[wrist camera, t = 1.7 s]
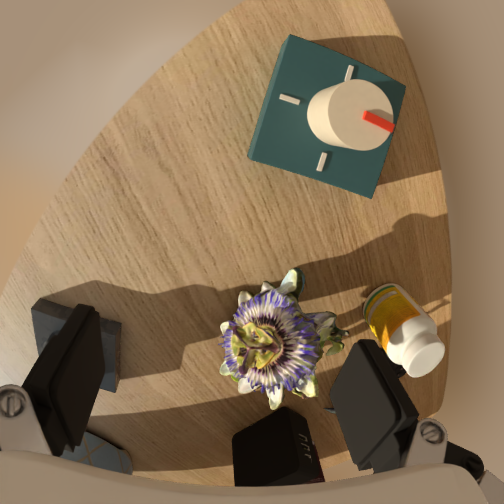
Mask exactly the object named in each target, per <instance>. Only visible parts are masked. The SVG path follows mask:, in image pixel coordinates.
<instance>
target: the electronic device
mask: <svg viewBox="0 0 504 504" xmlns="http://www.w3.org/2000/svg"><path fill="white" fill-rule="evenodd" d="M232 450H233V467H234V482H235V487H269V486H289V485H301V484H304V483H306V482H308V481H310V480H313V479H315V478H316V477H317V476H318V475H319V473H320V469H319V465H318V461H317V458H316V454H315V450H314V446H313V443H312V439H311V435H310V431H309V428H308V424H307V420H306V419H305V417H303V416H301V415H299V414H297V413H295V412H294V411H292V410H290V409H288V408H286V407H282V408H280V409H278V410H277V411H275V412H273V413H272V414H270V415H268V416H267V417H265V418H263V419H262V420H260V421H258V422H256V423H255V424H253V425H251V426H249V427H247V428H246V429H244V430H242V431H240V432H238V433H236V434H235V435H234V436H233V438H232Z"/></svg>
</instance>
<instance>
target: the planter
mask: <svg viewBox="0 0 504 504" xmlns="http://www.w3.org/2000/svg"><path fill="white" fill-rule="evenodd" d="M60 457H61V458H64V459H67V460H71V461H75V462H79V463H82V464H86V465H90V466H93V467H97V468H101V469H105V470H110V471H114V472H119V473H123V474H128V475H132V470H133V469H132V461H131V458H130V456H129V454H128V452H127V451H126V450H124V449H123V450H119V449H117V448H116V447H114V446H113V445H111V444H109V443H108V442H106V441H104V440H102V439H101V438H99V437H97V436H95V435H92V434H90V433H88V432H84V436H83V439H82V442H81V445H80V446H79V447H78V446H75V449H74V453H72V452H69V451H66V450H64V452H63V455H61V456H60Z"/></svg>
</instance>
